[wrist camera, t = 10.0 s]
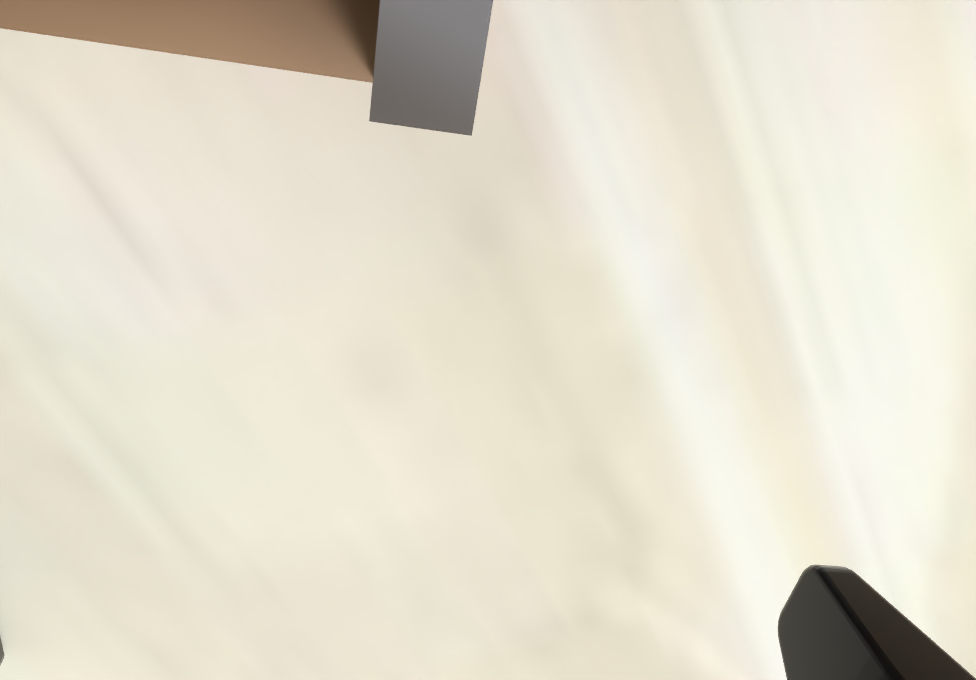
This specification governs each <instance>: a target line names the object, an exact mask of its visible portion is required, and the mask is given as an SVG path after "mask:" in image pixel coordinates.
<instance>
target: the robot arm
mask: <svg viewBox="0 0 976 680" xmlns="http://www.w3.org/2000/svg"><path fill="white" fill-rule="evenodd" d="M778 637H779V643H780V647H781V652H782V657H783V662H784V667H785V672H786V677H787V680H976V678H974V677H973V676H972V675H971V674H970V673H969V672H968V671H967V670H965V669H964V668H963V667H962V666H961V665H960V664H959V663H957V662H956V661H955V660H954V659H953V658H952V657H951V656H949V655H948V654H947V653H946V652H945V651H944V650H943V649H941V648H940V647H939V646H938V645H937V644H936V643H935V642H934V641H932V640H931V639H930V638H929V637H928V636H927V635H926V634H924V633H923V632H922V631H921V630H920V629H919V628H918V627H916V626H915V625H914V624H913V623H912V622H911V621H910V620H908V619H907V618H906V617H905V616H904V615H903V614H902V613H901V612H899V611H898V610H897V609H896V608H895V607H894V606H893V605H891V604H890V603H889V602H888V601H887V600H886V599H885V598H883V597H882V596H881V595H880V594H879V593H878V592H877V591H875V590H874V589H873V588H872V587H871V586H870V585H869V584H868V583H866V582H865V581H864V580H863V579H862V578H861V577H860V576H858V575H857V574H856V573H855V572H853V571H852V570H850V569H848V568H845V567H840V566H827V565H811V566H809V567H808V568H807V569H805V570H804V571H803V573H802V575H801V576H800V578H799V580H798V582H797V584H796V586H795V587H794V589H793V591H792V593H791V595H790V597H789V598H788V600H787V602H786V604H785V606H784V608H783V609H782V611H781V614H780V617H779V621H778ZM3 659H4V652H3V648H2V644H1V639H0V665H1V663H2V661H3Z"/></svg>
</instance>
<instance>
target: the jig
mask: <svg viewBox="0 0 976 680" xmlns="http://www.w3.org/2000/svg"><path fill="white" fill-rule="evenodd" d="M492 4H493V0H0V28H3V29H10V30H17V31H24V32H31V33H38V34H44V35H51V36H58V37H65V38H72V39H79V40H85V41H92V42H99V43H106V44H113V45H120V46H126V47H133V48H140V49H147V50H154V51H160V52H167V53H174V54H181V55H188V56H195V57H201V58H208V59H215V60H222V61H229V62H236V63H242V64H249V65H256V66H263V67H270V68H276V69H283V70H290V71H297V72H304V73H311V74H317V75H324V76H331V77H338V78H345V79H352V80H358V81H365V82H372V83H373V86H372V98H371V109H370V120H369V121H371V122H378V123H386V124H393V125H400V126H407V127H414V128H421V129H428V130H436V131H443V132H450V133H457V134H464V135H471V136H472V130H473V123H474V117H475V111H476V104H477V98H478V92H479V86H480V79H481V73H482V67H483V60H484V54H485V48H486V41H487V35H488V29H489V23H490V16H491V10H492Z"/></svg>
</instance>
